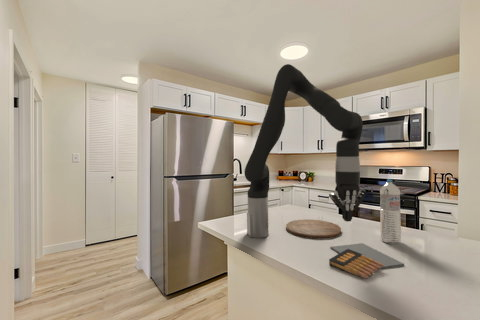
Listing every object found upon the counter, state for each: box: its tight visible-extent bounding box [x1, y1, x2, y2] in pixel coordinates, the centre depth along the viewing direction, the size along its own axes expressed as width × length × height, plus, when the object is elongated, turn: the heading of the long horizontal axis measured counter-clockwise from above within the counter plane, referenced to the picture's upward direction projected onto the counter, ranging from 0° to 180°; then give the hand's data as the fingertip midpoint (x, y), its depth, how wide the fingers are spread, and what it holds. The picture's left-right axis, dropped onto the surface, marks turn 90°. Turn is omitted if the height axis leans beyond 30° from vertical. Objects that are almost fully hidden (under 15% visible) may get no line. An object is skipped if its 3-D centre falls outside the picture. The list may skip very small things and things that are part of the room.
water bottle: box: [379, 179, 402, 245], centre depth 92 cm, size 7×7×25 cm
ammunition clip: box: [328, 249, 384, 279], centre depth 71 cm, size 11×2×12 cm
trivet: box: [285, 218, 342, 240], centre depth 109 cm, size 25×25×2 cm
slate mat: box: [330, 242, 405, 270], centre depth 79 cm, size 14×18×1 cm
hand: (347, 220), depth 78 cm, fingers closed
